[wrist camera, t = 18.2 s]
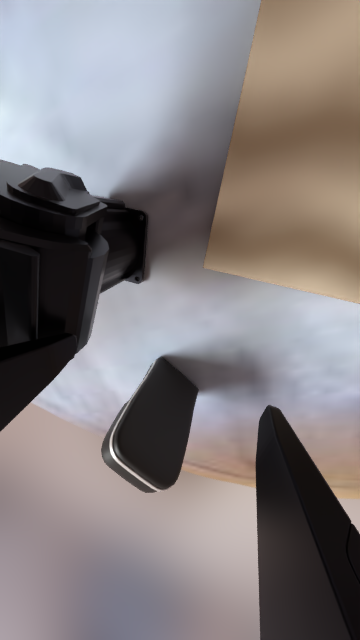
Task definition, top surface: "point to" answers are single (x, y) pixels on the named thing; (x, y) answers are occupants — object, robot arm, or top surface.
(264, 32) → the plank
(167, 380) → the battery charger
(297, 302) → the top surface
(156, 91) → the top surface
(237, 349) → the top surface
